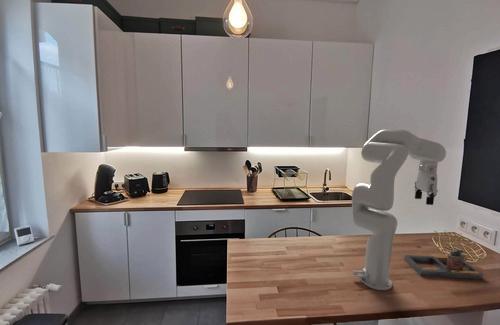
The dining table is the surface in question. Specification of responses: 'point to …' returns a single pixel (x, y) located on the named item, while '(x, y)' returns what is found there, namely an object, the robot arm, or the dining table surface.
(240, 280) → the dining table surface
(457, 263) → the reddish brown container
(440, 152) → the robot arm
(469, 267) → the grey divided frame
